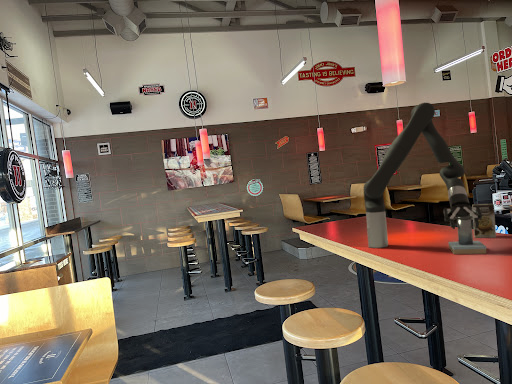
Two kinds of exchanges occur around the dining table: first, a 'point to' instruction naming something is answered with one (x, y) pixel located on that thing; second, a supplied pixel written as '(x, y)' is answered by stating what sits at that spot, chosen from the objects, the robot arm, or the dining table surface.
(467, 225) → the canister
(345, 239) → the dining table surface
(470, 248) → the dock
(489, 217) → the coffee box
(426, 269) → the dining table surface
